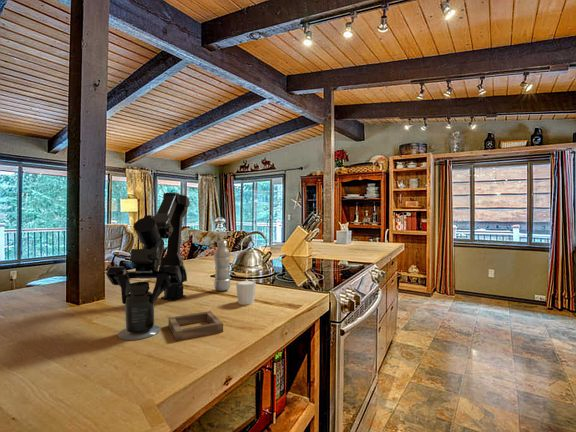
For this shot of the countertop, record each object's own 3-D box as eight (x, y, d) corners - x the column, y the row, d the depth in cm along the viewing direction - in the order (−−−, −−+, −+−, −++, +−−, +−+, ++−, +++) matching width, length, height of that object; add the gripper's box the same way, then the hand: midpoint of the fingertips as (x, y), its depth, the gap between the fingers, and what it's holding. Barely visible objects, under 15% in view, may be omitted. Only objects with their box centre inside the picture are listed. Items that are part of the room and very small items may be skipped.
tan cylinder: (252, 305, 107) (252, 285, 107) (233, 304, 109) (233, 284, 109) (258, 300, 114) (258, 280, 114) (240, 299, 116) (240, 280, 115)
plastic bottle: (233, 289, 129) (233, 240, 129) (222, 293, 123) (222, 242, 123) (222, 287, 132) (222, 240, 132) (210, 291, 127) (210, 241, 126)
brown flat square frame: (168, 325, 89) (168, 317, 89) (210, 318, 95) (210, 311, 95) (176, 340, 78) (176, 332, 78) (223, 331, 84) (223, 323, 84)
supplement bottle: (130, 324, 87) (128, 281, 86) (156, 322, 88) (155, 279, 88) (122, 334, 80) (121, 287, 79) (151, 331, 81) (150, 285, 81)
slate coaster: (109, 335, 82) (109, 334, 82) (143, 323, 90) (143, 322, 90) (135, 343, 77) (135, 341, 77) (167, 329, 86) (167, 328, 86)
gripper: (108, 237, 86) (87, 287, 76) (178, 236, 88) (168, 286, 77) (121, 261, 94) (104, 309, 84) (185, 260, 96) (176, 307, 86)
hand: (137, 303), depth 82 cm, fingers closed on supplement bottle, 7 cm apart
